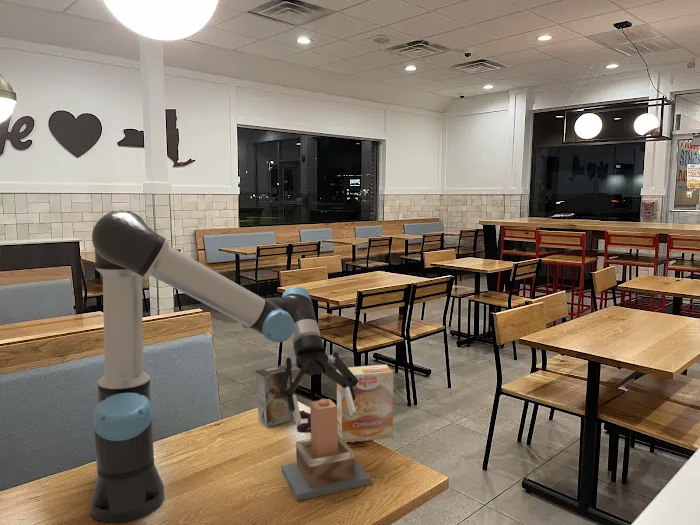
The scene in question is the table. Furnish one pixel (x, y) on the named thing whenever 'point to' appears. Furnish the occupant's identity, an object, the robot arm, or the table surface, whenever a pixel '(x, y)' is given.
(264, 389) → the coffee box
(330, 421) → the block
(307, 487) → the base board
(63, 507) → the table surface
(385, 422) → the coffeecake box
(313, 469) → the brown square box
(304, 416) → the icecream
